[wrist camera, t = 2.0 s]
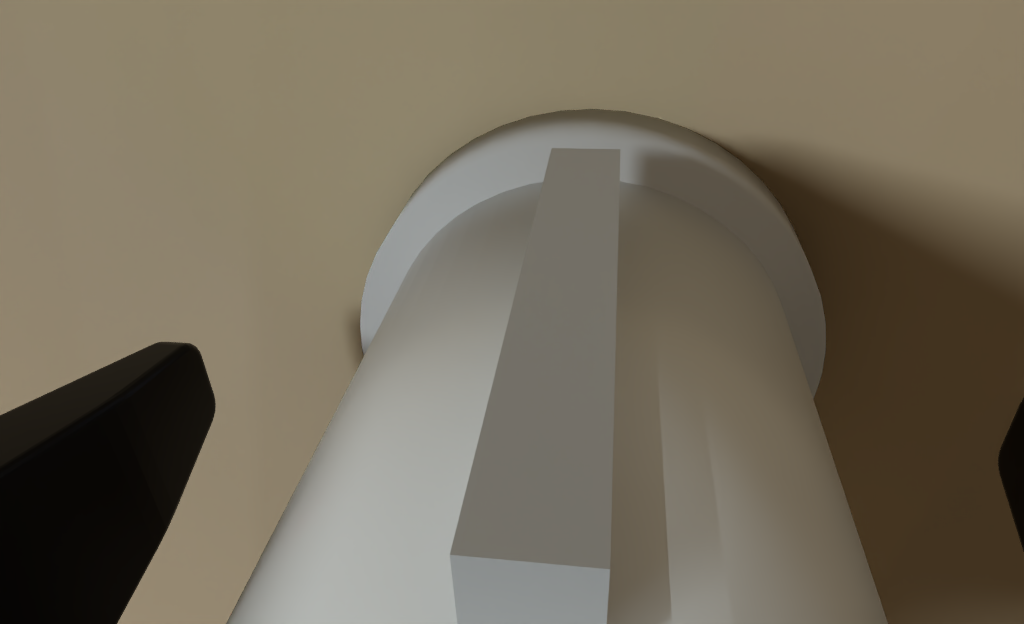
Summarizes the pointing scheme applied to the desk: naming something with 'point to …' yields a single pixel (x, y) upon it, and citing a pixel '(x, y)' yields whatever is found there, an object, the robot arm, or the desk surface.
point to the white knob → (578, 403)
